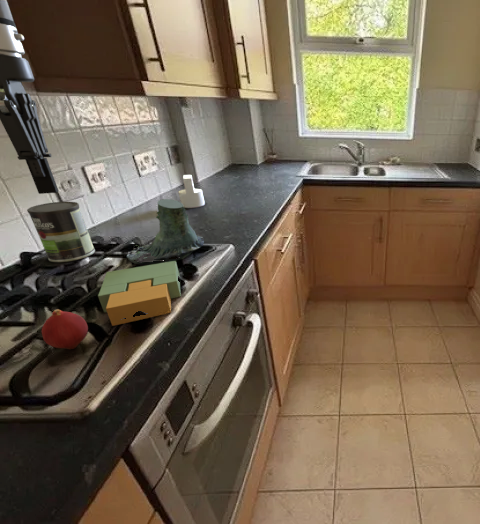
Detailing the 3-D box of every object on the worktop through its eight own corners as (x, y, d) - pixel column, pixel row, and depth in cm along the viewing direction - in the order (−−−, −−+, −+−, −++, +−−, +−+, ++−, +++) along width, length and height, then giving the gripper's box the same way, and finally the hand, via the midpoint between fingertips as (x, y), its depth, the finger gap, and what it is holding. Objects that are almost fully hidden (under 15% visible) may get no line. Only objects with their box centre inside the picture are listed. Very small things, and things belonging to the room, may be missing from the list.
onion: (50, 347, 58) (31, 308, 55) (91, 333, 62) (75, 296, 58) (53, 363, 54) (33, 324, 51) (96, 348, 58) (80, 309, 55)
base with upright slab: (205, 206, 140) (199, 177, 135) (181, 208, 137) (174, 179, 131) (204, 201, 147) (199, 174, 142) (181, 203, 144) (175, 175, 139)
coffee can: (68, 264, 88) (47, 213, 82) (38, 260, 90) (16, 209, 84) (104, 249, 97) (88, 202, 91) (77, 246, 99) (59, 200, 93)
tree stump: (158, 240, 106) (159, 185, 99) (217, 258, 105) (222, 205, 98) (109, 260, 89) (106, 197, 82) (179, 283, 88) (181, 221, 81)
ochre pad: (112, 326, 64) (105, 308, 62) (118, 302, 71) (112, 286, 70) (171, 312, 68) (166, 296, 67) (170, 292, 76) (166, 276, 74)
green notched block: (104, 312, 68) (97, 296, 66) (111, 287, 77) (106, 272, 76) (180, 296, 74) (176, 281, 73) (179, 274, 84) (175, 260, 82)
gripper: (11, 52, 53) (64, 198, 63) (37, 60, 63) (80, 184, 73) (-57, 47, 49) (10, 202, 59) (-18, 56, 60) (34, 187, 70)
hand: (48, 192), depth 66 cm, fingers closed
